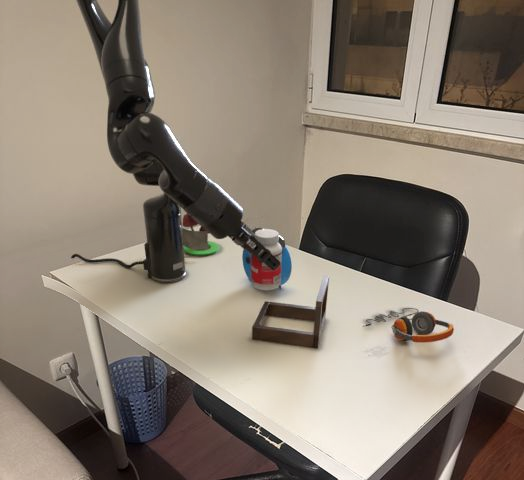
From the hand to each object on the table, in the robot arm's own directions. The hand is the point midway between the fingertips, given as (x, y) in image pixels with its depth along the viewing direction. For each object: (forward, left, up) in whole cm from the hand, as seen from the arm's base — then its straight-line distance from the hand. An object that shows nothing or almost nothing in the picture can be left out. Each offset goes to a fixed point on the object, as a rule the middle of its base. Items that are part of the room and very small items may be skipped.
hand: (269, 259), depth 102 cm
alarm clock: (-6, +23, -18) cm, 30 cm away
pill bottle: (-1, 0, -6) cm, 6 cm away
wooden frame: (+4, +3, -18) cm, 18 cm away
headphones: (+30, +8, -18) cm, 36 cm away
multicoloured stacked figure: (-31, +43, -18) cm, 56 cm away
